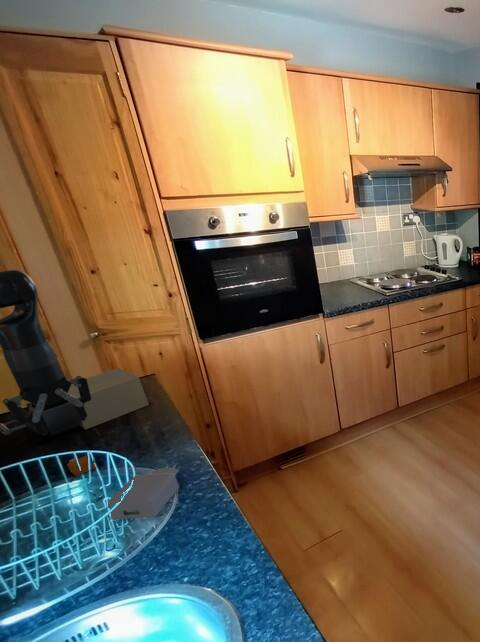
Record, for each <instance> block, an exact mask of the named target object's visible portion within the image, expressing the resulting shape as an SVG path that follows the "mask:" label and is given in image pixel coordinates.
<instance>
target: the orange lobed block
mask: <svg viewBox="0 0 480 642" xmlns="http://www.w3.org/2000/svg"><path fill="white" fill-rule="evenodd" d="M88 456H89V455H84V456H82V457H80V458H75V457H73V458H72V459H69V460H68V463H66V465H67V467H68V470H69V472H70V473H71V474H73V475H74V476H76V477H79V476H81V475H83V474H86V473H89V471H88ZM76 459H78V461H79V464H80V466H81V471H79V467H78V465H77V463H76ZM92 459H93V463H95V464H96V461H95V460H94V458H92ZM95 469H97V468H96V467H95V465H94V464H91V470H90V471H92V470H95Z"/></svg>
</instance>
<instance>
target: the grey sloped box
mask: <svg viewBox="0 0 480 642" xmlns="http://www.w3.org/2000/svg"><path fill="white" fill-rule="evenodd" d="M85 378H86V377H85ZM86 379H87V383H88V387H89V391H90V395H91V400H90V401H87V402H86V403H84V405H83V406H84V408H85V411H86V413H87V417H86V418H85V419H86V420H84V421H81V423H82V425H80V426H79V427H80V428H82V429H83V430H88V429H91V428H94V427H96V426H99V425H101V424H104V423H106V422H109V421H111V420H114V419H117V418H119V417H122V416H124V415H127V414H129V413H131V412H134V411H137V410H139V409H142V408H145V407H148V406H149V405H150V403H149V401H148V398H147V395H146V393H145V390H144V387H143V385H142V382H141V380H140V377H139V376H137V375H134V374H132V373H130V372H128V371H125V370H123V369H122V368H115V369H112V370H108V371H105V372H101V373H98V374H96V375H93V376H90V377H87V378H86ZM68 394H69V395H71V396H73V397H74V398H76V399H78V398H80V394H79V390H78V387H76V386H74V384H71V387H70V389H69V391H68Z"/></svg>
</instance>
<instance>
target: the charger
mask: <svg viewBox="0 0 480 642" xmlns="http://www.w3.org/2000/svg"><path fill="white" fill-rule="evenodd" d="M176 467H177V465H176V464H174V465H173V466H172V467H170V466H169V465H165V467H159V468H157V469H156V470H155V469H154V471H152V473H147V474H145V473H144V474H138V475H135V476H132V477H131V478H130V479H129V480H128V481H127V482H126V483H125V484H124V485H123V487H121V488H120V489H119V491H118V490H117V492H116V493H115V494H114V495H113V496H112V497H111V498H110V499H109V500H108V501H107V502H108V508H111V507H112V506H113V505H115V504H116V503H118V502H120V501H121V495H122V493H123V492H125V491H126V490H127V489H128V488H129V486H130V484H131V482H132V480H134V481H133V485H132V488H131V490H129V491H128V493H127V494H126V495H125V496H124V498H123V500H122V501H121V503H120V504H119V505H118V506H117V507H116V508H115V509H114V510H113V511H112V512H111V518H112V519H111V518H110V519H111V520H113V521H114V520H130V519H143V518H155V517H156V516H157V515H158V514H159V513H160V512H161V510H162V509H163V508H164V507H165V506H166V505H167V503H168V502H169V501H170V500H171V498H172V497H173V496H174V495H175V494H176V493H177V491H178V490H179V489H180V485H179V482H178V480H177V479H178V478H177V477H176V476H177V475H178V473H179V472H180V470H178V469H177V468H176ZM104 507H105V504H104Z"/></svg>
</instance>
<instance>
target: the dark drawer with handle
mask: <svg viewBox="0 0 480 642" xmlns="http://www.w3.org/2000/svg"><path fill="white" fill-rule="evenodd" d="M30 403H31V402H28V403H25V405H26V407H27V409H28V411H27V410H26V409H25V408H23V407H21V406H20V407H19V409H20V410H21V412H22V413H23V414H24V416H29V412H30V409H29V407H30ZM73 406H74V405H73V404H72V403H70V402H69V401H67V400H65V399H63V401H60V402H56V403H53V404H51V405H49V406H46V407H45V406H44V409H43V412H42V413H41V417H40V420H41V421H42V422H43V424H44V426H45V428H46V430H47V432H48V435H49V436H51V437H54V436H56V435H57V436H58V435H60V434H62V433H65V432H67V431H70V430H73V429H75V428H77V427H80V425H82V423H81V421H80V420H79V419H78V417H77V415H76V413H75V410H74V408H73ZM15 423H19V425H17V426H15V427H12V428H9V427H8V426H10V425H12V424H15ZM20 429H22V430H23V432H24V433H26V434H27V435H29V436H30V437H31V438H33V439H34V440H36V441H37V442H38V443H40V444H43V443H45V442H47V441H48V440H47V439H46V437H45V436H46V435H45V436H44V435H42V434H41V435H40V434H39V433H37V432H36V431H35V429H34V427H33V425H32V423H26V424H21V423H20V422H18V421H17V420H16V419H13V420H10V421H7V422H5V423H1V422H0V432H1V433H2V434H4V435H6V436H8V435H11V434H12V433H13V432H15V431H18V430H20Z"/></svg>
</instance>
